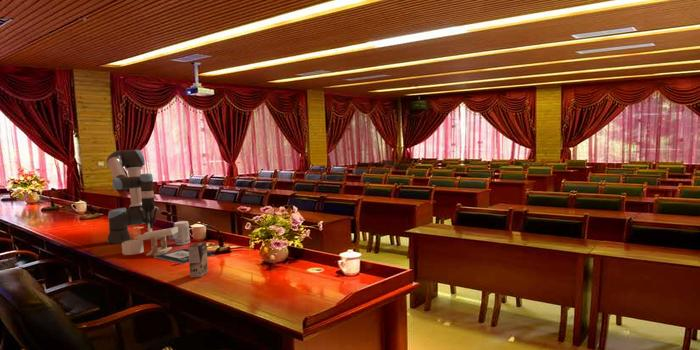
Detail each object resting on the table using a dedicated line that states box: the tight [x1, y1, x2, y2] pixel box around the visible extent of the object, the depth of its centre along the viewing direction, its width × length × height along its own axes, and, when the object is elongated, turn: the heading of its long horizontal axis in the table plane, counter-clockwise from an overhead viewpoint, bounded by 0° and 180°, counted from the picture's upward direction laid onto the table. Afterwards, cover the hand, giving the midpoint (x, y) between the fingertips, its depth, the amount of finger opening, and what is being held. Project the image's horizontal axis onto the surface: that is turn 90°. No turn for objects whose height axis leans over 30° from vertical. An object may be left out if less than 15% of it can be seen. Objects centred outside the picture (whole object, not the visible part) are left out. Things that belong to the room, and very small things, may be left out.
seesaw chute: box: [136, 226, 178, 241], centre depth 295 cm, size 22×18×7 cm
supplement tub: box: [173, 220, 191, 246], centre depth 313 cm, size 10×10×15 cm
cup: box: [121, 239, 145, 256], centre depth 292 cm, size 11×11×7 cm
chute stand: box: [145, 236, 173, 257], centre depth 292 cm, size 9×17×10 cm, turn 178°
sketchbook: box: [153, 247, 215, 265], centre depth 278 cm, size 22×30×2 cm
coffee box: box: [188, 241, 209, 278], centre depth 238 cm, size 9×6×16 cm
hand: (150, 233), depth 301 cm, fingers closed
